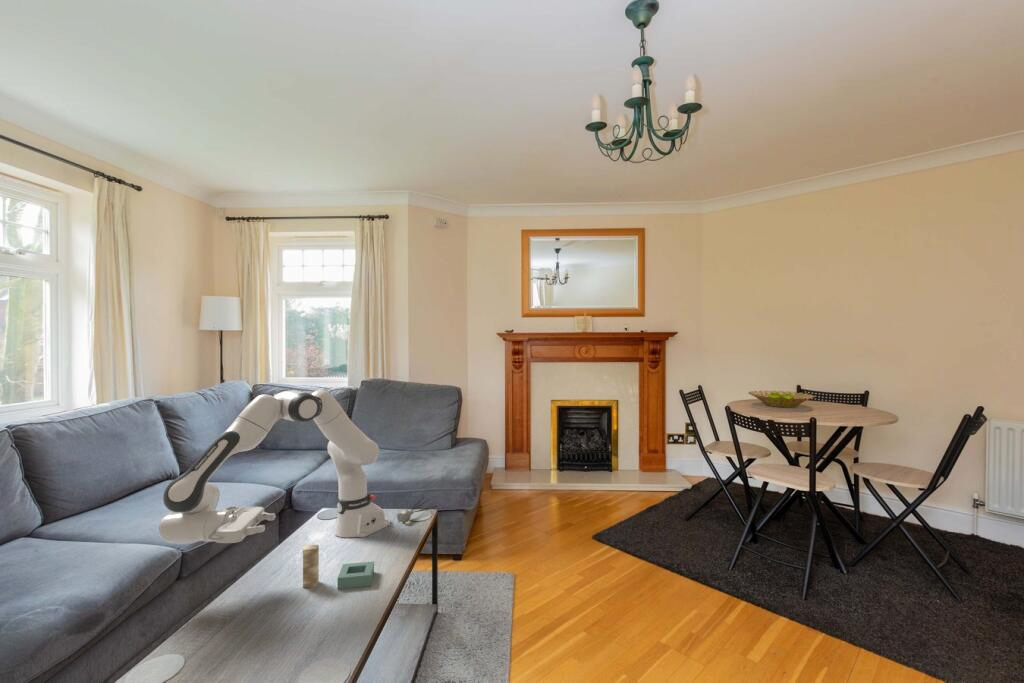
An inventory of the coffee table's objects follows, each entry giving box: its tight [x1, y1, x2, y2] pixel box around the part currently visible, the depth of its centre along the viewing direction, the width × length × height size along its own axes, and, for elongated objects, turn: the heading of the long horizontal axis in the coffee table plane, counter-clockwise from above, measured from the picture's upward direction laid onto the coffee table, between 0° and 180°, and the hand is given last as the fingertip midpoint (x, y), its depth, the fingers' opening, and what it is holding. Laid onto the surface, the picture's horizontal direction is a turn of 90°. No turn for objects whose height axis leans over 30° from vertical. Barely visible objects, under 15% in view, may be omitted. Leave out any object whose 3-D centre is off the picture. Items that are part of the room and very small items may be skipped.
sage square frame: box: [337, 561, 375, 590], centre depth 145 cm, size 10×9×4 cm
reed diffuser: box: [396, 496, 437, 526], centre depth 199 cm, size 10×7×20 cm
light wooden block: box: [302, 544, 320, 589], centre depth 143 cm, size 4×3×12 cm
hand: (269, 522), depth 141 cm, fingers open, 8 cm apart
